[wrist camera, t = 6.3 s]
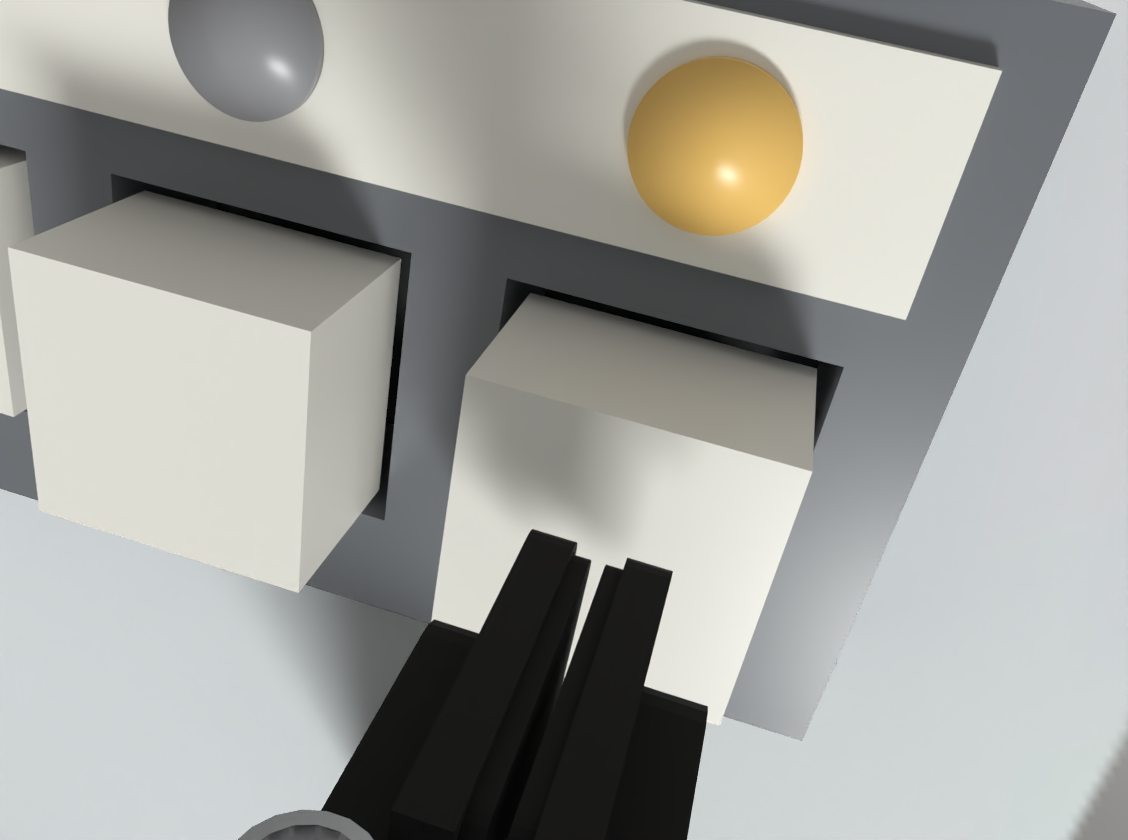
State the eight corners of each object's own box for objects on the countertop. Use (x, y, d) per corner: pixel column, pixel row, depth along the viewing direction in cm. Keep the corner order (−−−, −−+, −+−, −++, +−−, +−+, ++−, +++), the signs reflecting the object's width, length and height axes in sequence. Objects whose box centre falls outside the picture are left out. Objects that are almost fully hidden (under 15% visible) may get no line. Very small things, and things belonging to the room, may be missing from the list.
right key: (738, 597, 16) (719, 725, 14) (491, 523, 17) (429, 634, 14) (816, 368, 14) (812, 471, 12) (531, 292, 15) (464, 374, 12)
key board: (806, 630, 20) (801, 763, 17) (-101, 358, 22) (-248, 429, 19) (1063, -8, 14) (1127, 18, 11) (-223, -276, 16) (-464, -317, 13)
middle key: (379, 490, 17) (299, 593, 15) (154, 423, 18) (39, 510, 15) (400, 258, 15) (310, 331, 12) (145, 190, 16) (7, 247, 13)
